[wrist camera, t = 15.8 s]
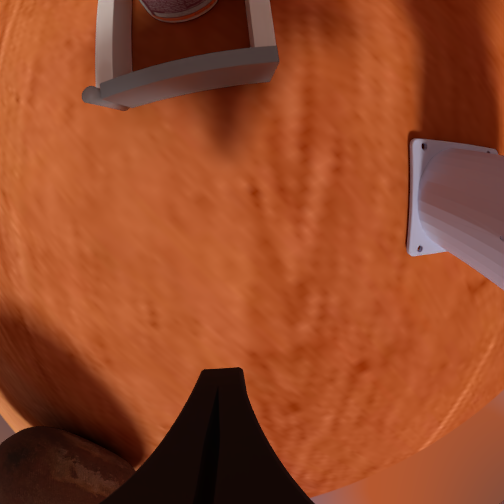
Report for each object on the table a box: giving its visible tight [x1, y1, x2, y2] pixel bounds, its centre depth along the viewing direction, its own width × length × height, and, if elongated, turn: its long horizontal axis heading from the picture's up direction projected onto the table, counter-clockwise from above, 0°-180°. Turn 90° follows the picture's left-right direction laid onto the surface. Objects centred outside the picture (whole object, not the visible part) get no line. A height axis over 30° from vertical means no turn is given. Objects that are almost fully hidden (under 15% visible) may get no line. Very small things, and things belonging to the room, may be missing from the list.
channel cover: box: [82, 46, 279, 111], centre depth 11 cm, size 9×1×4 cm, turn 98°
